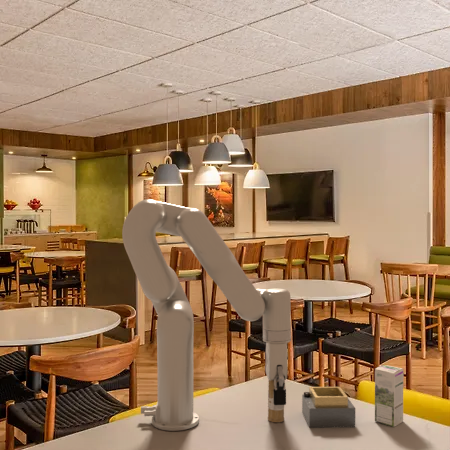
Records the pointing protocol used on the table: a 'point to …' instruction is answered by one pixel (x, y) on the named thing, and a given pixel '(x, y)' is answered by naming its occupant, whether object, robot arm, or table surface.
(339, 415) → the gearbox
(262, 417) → the table surface
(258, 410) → the table surface
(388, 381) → the syrup box
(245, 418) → the table surface
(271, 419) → the sprinkles bottle
